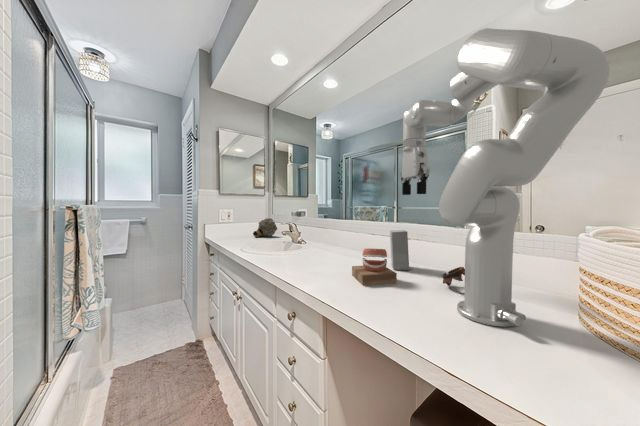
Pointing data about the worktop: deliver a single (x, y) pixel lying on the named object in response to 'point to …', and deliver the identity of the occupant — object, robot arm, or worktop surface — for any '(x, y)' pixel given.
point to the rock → (265, 228)
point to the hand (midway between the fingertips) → (413, 194)
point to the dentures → (374, 264)
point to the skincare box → (399, 249)
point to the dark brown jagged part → (453, 275)
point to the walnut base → (374, 276)
